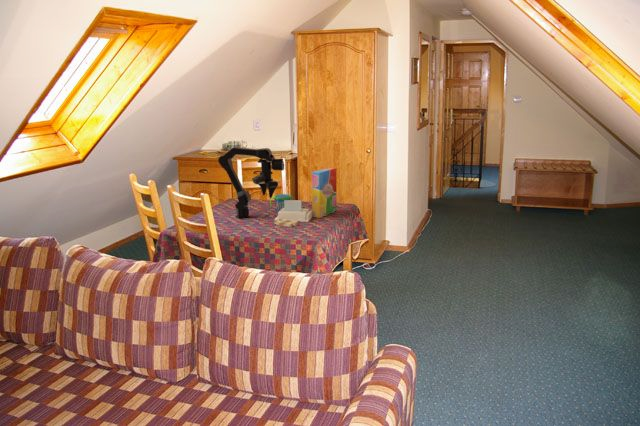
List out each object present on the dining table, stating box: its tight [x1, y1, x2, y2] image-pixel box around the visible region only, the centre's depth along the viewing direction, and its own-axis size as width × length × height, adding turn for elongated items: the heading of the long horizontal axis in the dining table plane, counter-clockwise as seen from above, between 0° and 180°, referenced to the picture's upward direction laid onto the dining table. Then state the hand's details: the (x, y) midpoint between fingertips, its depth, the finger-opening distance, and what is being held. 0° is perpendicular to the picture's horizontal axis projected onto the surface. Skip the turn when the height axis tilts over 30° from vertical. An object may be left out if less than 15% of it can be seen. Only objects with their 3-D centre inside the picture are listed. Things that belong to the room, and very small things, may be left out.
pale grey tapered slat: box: [284, 199, 303, 211], centre depth 336 cm, size 10×2×10 cm, turn 81°
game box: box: [311, 167, 338, 219], centre depth 344 cm, size 21×6×27 cm, turn 149°
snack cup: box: [269, 193, 296, 213], centre depth 354 cm, size 16×10×10 cm
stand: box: [273, 219, 299, 228], centre depth 323 cm, size 12×6×2 cm, turn 55°
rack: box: [274, 208, 313, 223], centre depth 336 cm, size 20×12×5 cm, turn 80°
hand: (267, 196), depth 337 cm, fingers open, 9 cm apart
